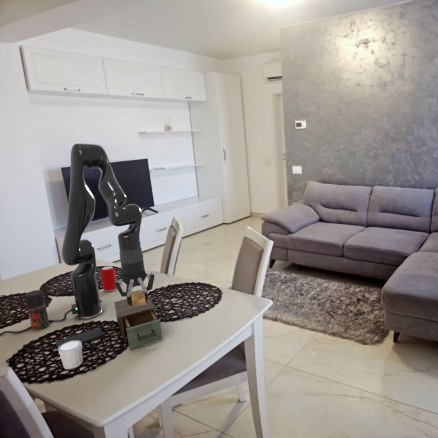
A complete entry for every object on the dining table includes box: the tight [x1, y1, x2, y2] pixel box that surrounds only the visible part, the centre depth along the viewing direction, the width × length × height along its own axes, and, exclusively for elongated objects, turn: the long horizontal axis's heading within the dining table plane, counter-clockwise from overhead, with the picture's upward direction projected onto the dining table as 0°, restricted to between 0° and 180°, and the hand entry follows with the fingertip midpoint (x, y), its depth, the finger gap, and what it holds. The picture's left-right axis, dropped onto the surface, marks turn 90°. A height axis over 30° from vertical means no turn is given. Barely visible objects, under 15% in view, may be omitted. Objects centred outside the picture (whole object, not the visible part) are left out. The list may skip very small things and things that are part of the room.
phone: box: [55, 327, 104, 349], centre depth 137 cm, size 7×1×15 cm
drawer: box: [123, 310, 163, 350], centre depth 134 cm, size 19×11×8 cm, turn 33°
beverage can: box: [100, 265, 117, 293], centre depth 182 cm, size 6×6×12 cm
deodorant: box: [24, 289, 50, 332], centre depth 146 cm, size 6×6×15 cm
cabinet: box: [113, 296, 157, 340], centre depth 145 cm, size 16×13×10 cm
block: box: [130, 289, 146, 308], centre depth 133 cm, size 4×4×4 cm
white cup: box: [57, 340, 84, 370], centre depth 121 cm, size 7×7×7 cm
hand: (138, 303), depth 134 cm, fingers closed on block, 4 cm apart
